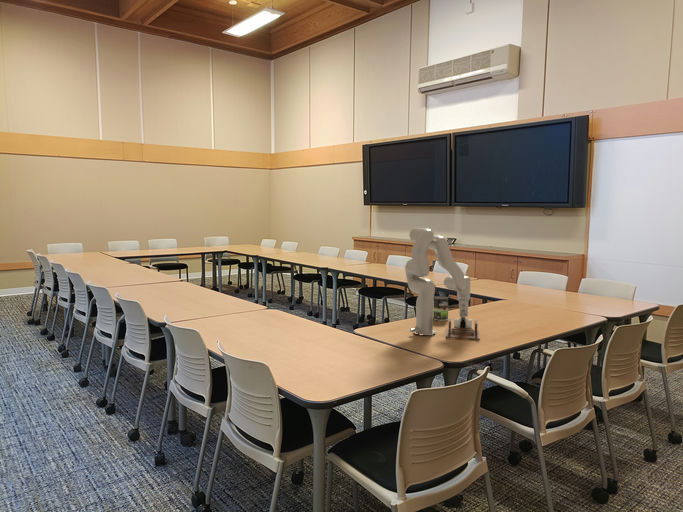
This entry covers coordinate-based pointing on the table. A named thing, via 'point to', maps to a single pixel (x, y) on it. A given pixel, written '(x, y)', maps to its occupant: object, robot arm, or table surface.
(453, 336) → the roll holder
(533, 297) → the table surface
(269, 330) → the table surface
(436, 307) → the coffee can
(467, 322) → the paper towel roll
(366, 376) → the table surface
